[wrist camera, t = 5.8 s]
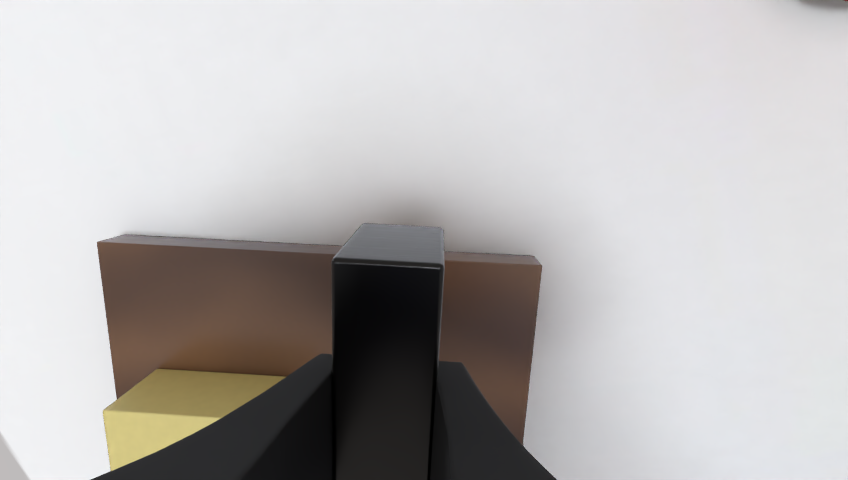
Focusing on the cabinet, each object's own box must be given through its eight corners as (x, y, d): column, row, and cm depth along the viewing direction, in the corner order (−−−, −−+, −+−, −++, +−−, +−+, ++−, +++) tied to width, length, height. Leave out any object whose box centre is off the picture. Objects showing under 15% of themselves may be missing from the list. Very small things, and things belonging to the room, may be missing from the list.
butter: (296, 476, 19) (270, 536, 16) (167, 467, 19) (117, 525, 16) (294, 376, 18) (265, 421, 15) (156, 368, 18) (101, 410, 15)
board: (505, 526, 21) (511, 555, 19) (153, 501, 21) (132, 527, 20) (534, 255, 18) (542, 265, 16) (123, 234, 18) (95, 241, 17)
